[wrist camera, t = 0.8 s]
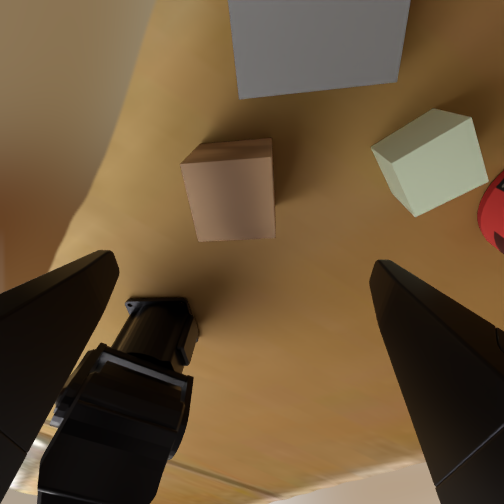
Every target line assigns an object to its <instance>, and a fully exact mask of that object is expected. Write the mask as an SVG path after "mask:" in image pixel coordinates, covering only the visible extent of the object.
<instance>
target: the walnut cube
mask: <svg viewBox="0 0 504 504" xmlns="http://www.w3.org/2000/svg"><path fill="white" fill-rule="evenodd" d="M180 167H181V171H182V175H183V179H184V183H185V188H186V192H187V196H188V200H189V204H190V209H191V213H192V217H193V221H194V225H195V230H196V234H197V238H198V242H204V241H226V240H247V239H269V238H276V237H275V194H274V174H273V154H272V138H263V139H251V140H240V141H228V142H216V143H205V144H199V145H198V146H197V147H196V148H195V149H194V150H193V151H192V153H191V154H190V155H189V156H188V157H187V158H186V159H185V160H184V161H183V162H182V163H181V164H180Z"/></svg>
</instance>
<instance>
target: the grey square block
mask: <svg viewBox="0 0 504 504" xmlns="http://www.w3.org/2000/svg"><path fill="white" fill-rule="evenodd" d="M410 1H411V0H228V4H229V13H230V22H231V31H232V40H233V49H234V58H235V67H236V76H237V85H238V94H239V99H248V98H257V97H266V96H275V95H284V94H293V93H303V92H312V91H321V90H330V89H339V88H348V87H357V86H366V85H375V84H384V83H393V82H397V79H398V73H399V67H400V61H401V55H402V49H403V43H404V37H405V31H406V25H407V19H408V13H409V7H410Z"/></svg>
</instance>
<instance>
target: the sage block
mask: <svg viewBox="0 0 504 504" xmlns="http://www.w3.org/2000/svg"><path fill="white" fill-rule="evenodd" d="M371 149H372V151H373V153H374V156H375V158H376V160H377V162H378V164H379V166H380V168H381V171H382V173H383V175H384V177H385V179H386V181H387V183H388V186H389V188H390V190H391V192H392V194H393V195H394V196H395V197H396V198H397V199H398V200H399V201H400V202H401V203H402V204H403V205H404V206H405V207H406V208H407V209H408V210H409V211H410V212H411V214H412V215H413V216H414V217H417V216H419V215H421V214H423V213H425V212H427V211H429V210H431V209H433V208H435V207H438V206H440V205H442V204H444V203H446V202H448V201H450V200H452V199H454V198H456V197H458V196H460V195H462V194H464V193H466V192H468V191H470V190H472V189H474V188H477V187H479V186H481V185H483V184H485V183H487V182H489V181H488V177H487V173H486V169H485V166H484V162H483V158H482V154H481V151H480V147H479V143H478V140H477V136H476V132H475V128H474V125H473V121H472V117H468V116H464V115H460V114H456V113H451V112H447V111H443V110H439V109H434V108H433V109H431V110H429V111H428V112H426V113H425V114H423V115H421V116H420V117H418V118H417V119H415V120H413V121H412V122H410V123H408V124H407V125H405V126H404V127H402V128H400V129H399V130H397V131H396V132H394V133H392V134H391V135H389V136H387V137H386V138H384V139H383V140H381V141H379V142H378V143H376V144H375V145H373V146H371Z"/></svg>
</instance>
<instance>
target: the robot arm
mask: <svg viewBox="0 0 504 504" xmlns="http://www.w3.org/2000/svg"><path fill="white" fill-rule="evenodd" d="M118 277H119V267H118V264H117V261H116V259H115V256H114V253H113V252H112V251H110V250H98V251H96V252H93V253H91V254H89V255H87V256H84V257H82V258H80V259H78V260H75V261H73V262H71V263H69V264H66V265H64V266H62V267H60V268H57V269H55V270H53V271H51V272H48V273H46V274H44V275H42V276H39V277H37V278H35V279H33V280H30V281H28V282H26V283H24V284H21V285H19V286H17V287H15V288H12V289H10V290H8V291H6V292H3V293H1V294H0V503H1V501H2V500H3V498H4V496H5V494H6V492H7V490H8V489H9V487H10V485H11V483H12V481H13V479H14V478H15V476H16V474H17V472H18V470H19V468H20V467H21V465H22V463H23V461H24V459H25V457H26V455H27V452H28V451H29V450H30V448H31V446H32V444H33V442H34V440H35V438H36V437H37V435H38V433H39V431H40V429H41V427H42V426H43V424H44V422H45V420H46V418H47V416H48V415H49V413H50V411H51V409H52V407H53V405H54V403H55V404H56V407H55V410H54V412H53V413H55V414H54V416H53V418H52V420H51V422H50V426H54V427H57V428H58V430H57V431H56V433H55V435H54V437H53V438H52V440H51V442H50V444H49V445H48V447H47V449H46V451H45V452H44V454H43V456H42V458H41V461H40V468H39V479H38V499H37V504H150V503H151V501H152V500H153V499H154V497H155V496H156V493H157V490H158V487H159V483H160V480H161V477H162V473H163V471H164V468H165V465H166V463H167V460H170V459H172V458H173V456H174V455H175V453H176V452H177V450H178V448H179V445H180V443H181V441H182V438H183V435H184V433H185V429H186V426H187V422H188V417H189V410H190V402H191V394H192V386H193V379H194V377H192V376H189V375H188V376H186V375H184V374H182V371H183V368H184V366H188V365H189V364H190V361H191V357H192V354H193V350H194V347H195V343H196V342H197V341H198V339H199V336H198V333H199V331H198V328H197V324H196V321H195V318H194V316H193V315H192V314H191V310H190V307H189V304H188V301H187V300H186V299H185V298H148V299H128V300H127V301H126V303H125V306H126V308H127V310H128V312H129V314H130V316H129V317H128V319H127V321H126V323H125V324H124V326H123V328H122V329H121V331H120V333H119V334H118V336H117V338H116V340H115V341H114V343H113V345H112V346H111V347H109V346H107V344H104V343H100V344H99V346H98V347H97V349H95V350H94V349H93V350H90V351H88V352H87V353H86V355H85V356H84V358H83V359H82V361H81V362H80V364H79V365H78V367H77V368H76V369H75V370H74V372H73V373H72V374H71V372H72V370H73V368H74V367H75V365H76V363H77V361H78V359H79V357H80V356H81V354H82V352H83V350H84V348H85V346H86V344H87V343H88V341H89V339H90V337H91V335H92V333H93V332H94V330H95V328H96V326H97V324H98V322H99V321H100V319H101V317H102V315H103V313H104V311H105V308H106V306H107V304H108V301H109V299H110V296H111V294H112V291H113V289H114V287H115V284H116V282H117V279H118ZM369 284H370V290H371V294H372V299H373V304H374V308H375V313H376V317H377V321H378V325H379V329H380V332H381V335H382V337H383V340H384V343H385V346H386V349H387V352H388V354H389V357H390V360H391V363H392V366H393V369H394V372H395V374H396V377H397V380H398V383H399V386H400V389H401V391H402V394H403V397H404V400H405V403H406V406H407V409H408V411H409V414H410V417H411V420H412V423H413V426H414V428H415V431H416V434H417V437H418V440H419V443H420V445H421V448H422V451H423V454H424V457H425V460H426V463H427V465H428V468H429V471H430V474H431V477H432V480H433V482H434V485H435V486H436V492H437V494H438V497H439V500H440V503H441V504H504V331H502V330H501V329H499V328H495V326H494V325H493V324H491V323H490V322H488V321H486V320H485V319H483V318H482V317H480V316H478V315H477V314H475V313H474V312H472V311H470V310H469V309H467V308H466V307H464V306H462V305H461V304H459V303H458V302H456V301H455V300H453V299H451V298H450V297H448V296H447V295H445V294H443V293H442V292H440V291H439V290H437V289H435V288H434V287H432V286H431V285H429V284H427V283H426V282H424V281H423V280H421V279H419V278H418V277H416V276H415V275H413V274H412V273H410V272H408V271H407V270H405V269H404V268H402V267H400V266H399V265H397V264H396V263H394V262H392V261H391V260H377V261H376V262H375V264H374V267H373V270H372V273H371V277H370V281H369ZM181 302H182V303H181ZM70 374H71V375H70Z"/></svg>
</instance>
